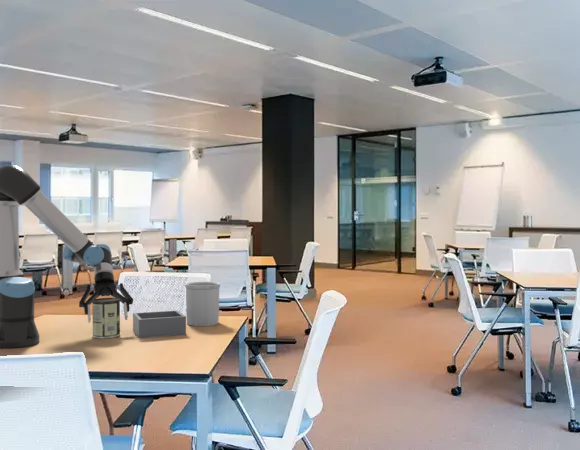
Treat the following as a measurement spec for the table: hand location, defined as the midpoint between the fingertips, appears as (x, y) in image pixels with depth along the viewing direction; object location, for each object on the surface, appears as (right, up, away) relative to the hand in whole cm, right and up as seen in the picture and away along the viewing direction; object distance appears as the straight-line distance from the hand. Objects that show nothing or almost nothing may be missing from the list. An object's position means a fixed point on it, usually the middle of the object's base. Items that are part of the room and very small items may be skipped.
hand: (108, 319), depth 213 cm
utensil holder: (+32, -7, +27) cm, 43 cm away
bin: (+18, -7, +8) cm, 20 cm away
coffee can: (-1, -7, 0) cm, 7 cm away
